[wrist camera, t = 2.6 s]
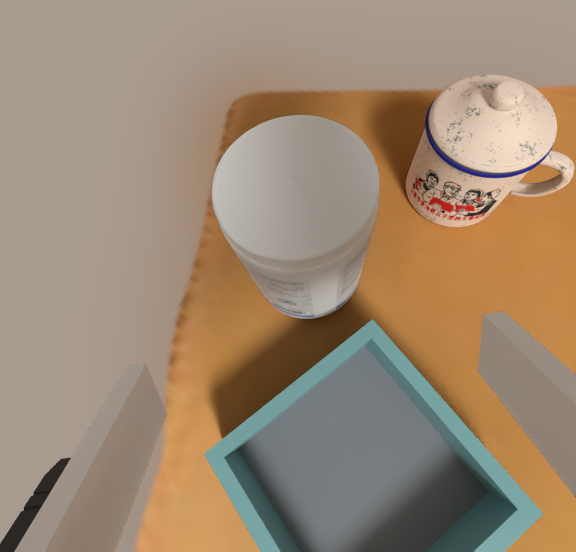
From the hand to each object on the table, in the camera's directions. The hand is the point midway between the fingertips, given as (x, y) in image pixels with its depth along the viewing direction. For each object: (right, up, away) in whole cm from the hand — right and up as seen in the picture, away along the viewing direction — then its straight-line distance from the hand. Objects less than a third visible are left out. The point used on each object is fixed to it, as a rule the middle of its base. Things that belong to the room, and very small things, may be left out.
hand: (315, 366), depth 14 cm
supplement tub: (+1, +4, +19) cm, 19 cm away
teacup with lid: (+16, +11, +20) cm, 28 cm away
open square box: (+4, -11, +13) cm, 18 cm away
